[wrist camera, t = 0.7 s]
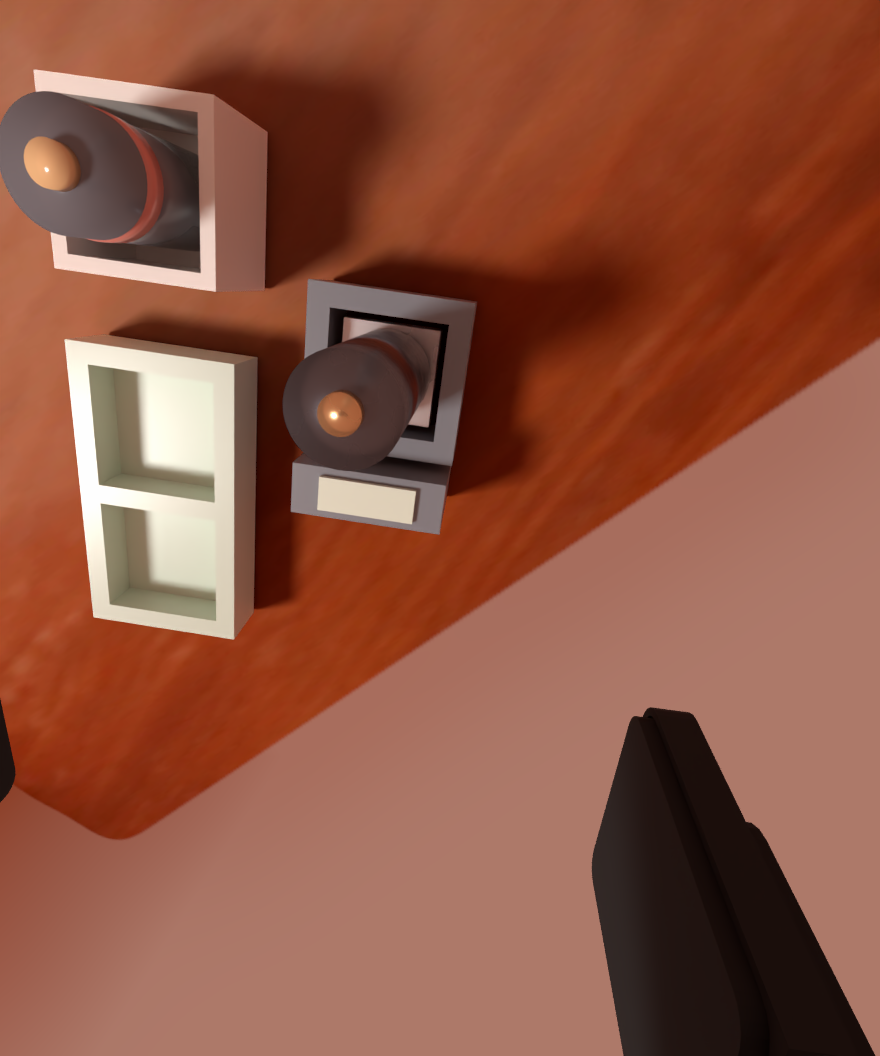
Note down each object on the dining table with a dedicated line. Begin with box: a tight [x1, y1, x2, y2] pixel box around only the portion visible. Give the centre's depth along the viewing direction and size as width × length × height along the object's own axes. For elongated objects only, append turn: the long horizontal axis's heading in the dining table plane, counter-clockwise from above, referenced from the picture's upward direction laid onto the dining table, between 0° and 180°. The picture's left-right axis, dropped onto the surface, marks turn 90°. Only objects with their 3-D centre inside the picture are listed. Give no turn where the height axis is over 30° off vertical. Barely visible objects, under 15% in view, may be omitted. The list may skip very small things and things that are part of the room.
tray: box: [65, 334, 258, 639], centre depth 32 cm, size 15×8×3 cm, turn 172°
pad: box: [342, 316, 443, 427], centre depth 28 cm, size 4×4×2 cm
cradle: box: [291, 279, 477, 534], centre depth 28 cm, size 10×7×5 cm
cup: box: [0, 70, 268, 292], centre depth 23 cm, size 7×7×10 cm
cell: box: [283, 329, 430, 471], centre depth 23 cm, size 4×4×10 cm
